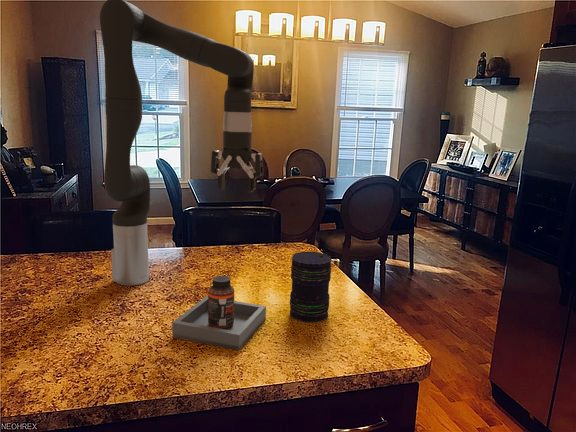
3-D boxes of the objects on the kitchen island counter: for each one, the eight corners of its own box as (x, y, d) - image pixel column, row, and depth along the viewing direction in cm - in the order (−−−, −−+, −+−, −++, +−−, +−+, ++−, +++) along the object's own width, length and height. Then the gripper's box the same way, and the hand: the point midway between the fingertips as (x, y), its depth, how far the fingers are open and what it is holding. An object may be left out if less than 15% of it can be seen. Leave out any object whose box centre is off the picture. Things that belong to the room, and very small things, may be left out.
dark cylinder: (301, 325, 111) (303, 265, 108) (282, 309, 119) (284, 254, 116) (336, 318, 116) (339, 261, 112) (315, 303, 124) (318, 249, 121)
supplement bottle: (229, 331, 105) (229, 284, 102) (204, 328, 106) (203, 281, 103) (237, 320, 111) (237, 275, 108) (213, 317, 112) (213, 272, 109)
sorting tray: (172, 337, 103) (172, 322, 103) (206, 309, 118) (206, 296, 117) (239, 350, 99) (239, 335, 98) (265, 319, 114) (265, 306, 113)
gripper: (206, 129, 122) (206, 190, 125) (257, 131, 117) (256, 195, 121) (219, 128, 129) (218, 186, 132) (267, 130, 124) (266, 190, 128)
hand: (236, 190), depth 127 cm, fingers open, 8 cm apart
